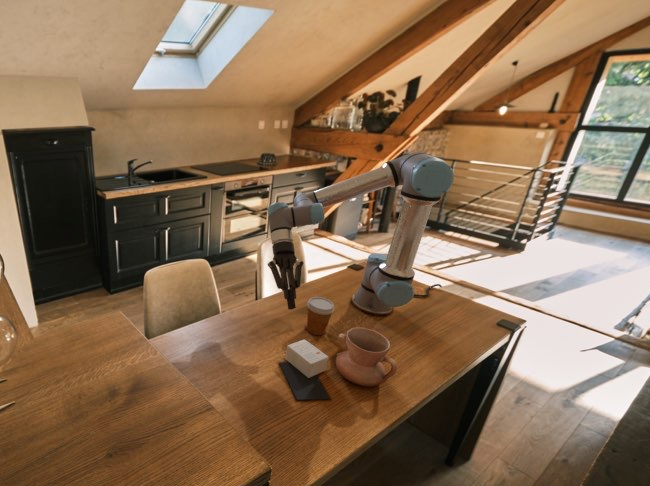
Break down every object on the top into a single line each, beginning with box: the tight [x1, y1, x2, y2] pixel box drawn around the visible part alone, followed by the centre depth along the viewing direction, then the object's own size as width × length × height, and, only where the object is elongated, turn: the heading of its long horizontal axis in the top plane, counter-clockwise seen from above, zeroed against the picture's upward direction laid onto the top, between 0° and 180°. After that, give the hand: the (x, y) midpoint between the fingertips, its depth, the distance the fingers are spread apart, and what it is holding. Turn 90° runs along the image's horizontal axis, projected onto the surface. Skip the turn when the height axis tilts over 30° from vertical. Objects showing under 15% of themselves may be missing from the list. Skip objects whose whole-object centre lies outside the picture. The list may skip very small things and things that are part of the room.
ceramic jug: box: [335, 326, 398, 387], centre depth 119 cm, size 18×14×14 cm
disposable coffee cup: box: [306, 296, 335, 336], centre depth 141 cm, size 10×10×12 cm
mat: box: [278, 361, 331, 401], centre depth 119 cm, size 16×10×1 cm, turn 4°
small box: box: [285, 339, 330, 378], centre depth 124 cm, size 8×6×10 cm
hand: (291, 308), depth 131 cm, fingers closed
